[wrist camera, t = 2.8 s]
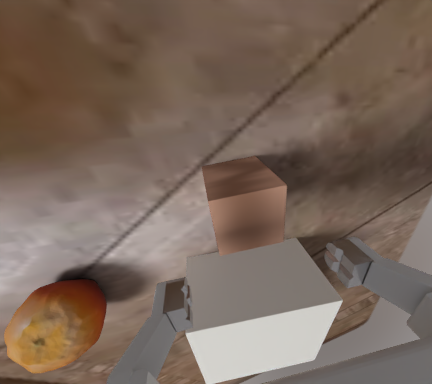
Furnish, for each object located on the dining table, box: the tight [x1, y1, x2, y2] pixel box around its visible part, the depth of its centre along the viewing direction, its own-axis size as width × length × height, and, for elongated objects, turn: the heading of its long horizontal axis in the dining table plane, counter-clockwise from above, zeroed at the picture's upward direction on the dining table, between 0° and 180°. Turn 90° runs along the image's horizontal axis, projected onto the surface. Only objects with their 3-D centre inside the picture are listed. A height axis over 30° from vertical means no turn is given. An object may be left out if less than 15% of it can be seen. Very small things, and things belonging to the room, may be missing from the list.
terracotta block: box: [202, 156, 287, 256], centre depth 15 cm, size 5×5×6 cm
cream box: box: [185, 238, 343, 384], centre depth 22 cm, size 14×14×8 cm
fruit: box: [4, 279, 107, 373], centre depth 19 cm, size 8×8×8 cm
